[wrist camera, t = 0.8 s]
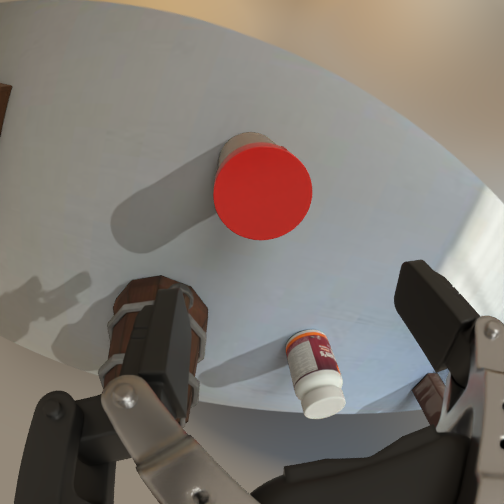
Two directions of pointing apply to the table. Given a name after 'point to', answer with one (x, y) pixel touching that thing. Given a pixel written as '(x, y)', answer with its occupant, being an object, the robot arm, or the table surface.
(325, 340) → the pill bottle
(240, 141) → the jar
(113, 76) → the table surface
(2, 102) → the tray
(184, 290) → the mug
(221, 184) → the lid
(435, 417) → the box
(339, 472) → the robot arm
